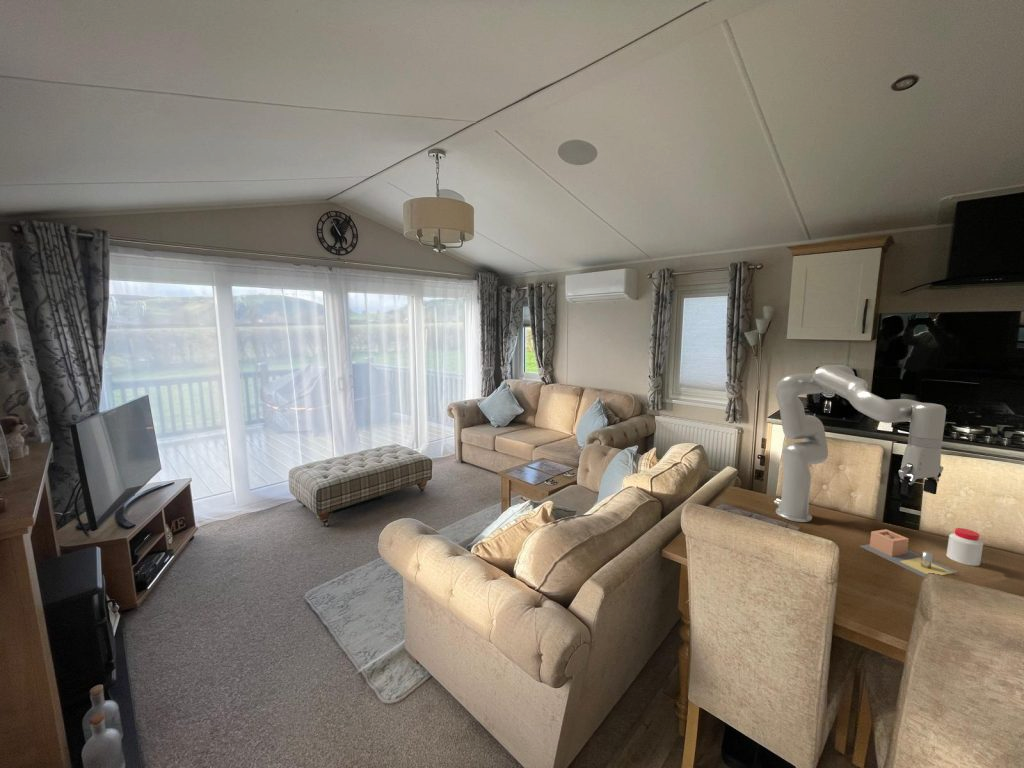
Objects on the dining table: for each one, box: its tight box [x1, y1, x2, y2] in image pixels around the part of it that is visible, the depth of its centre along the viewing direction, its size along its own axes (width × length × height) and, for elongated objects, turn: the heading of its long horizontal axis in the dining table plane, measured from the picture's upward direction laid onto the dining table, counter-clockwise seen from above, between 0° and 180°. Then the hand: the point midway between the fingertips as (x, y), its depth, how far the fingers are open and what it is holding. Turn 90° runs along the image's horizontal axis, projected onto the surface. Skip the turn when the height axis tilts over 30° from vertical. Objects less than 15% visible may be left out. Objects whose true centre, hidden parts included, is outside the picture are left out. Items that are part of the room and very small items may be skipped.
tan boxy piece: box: [869, 529, 910, 556], centre depth 144 cm, size 7×7×6 cm
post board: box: [859, 535, 958, 578], centre depth 139 cm, size 20×14×6 cm
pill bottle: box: [946, 527, 984, 567], centre depth 138 cm, size 8×8×11 cm
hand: (918, 493), depth 132 cm, fingers open, 9 cm apart
